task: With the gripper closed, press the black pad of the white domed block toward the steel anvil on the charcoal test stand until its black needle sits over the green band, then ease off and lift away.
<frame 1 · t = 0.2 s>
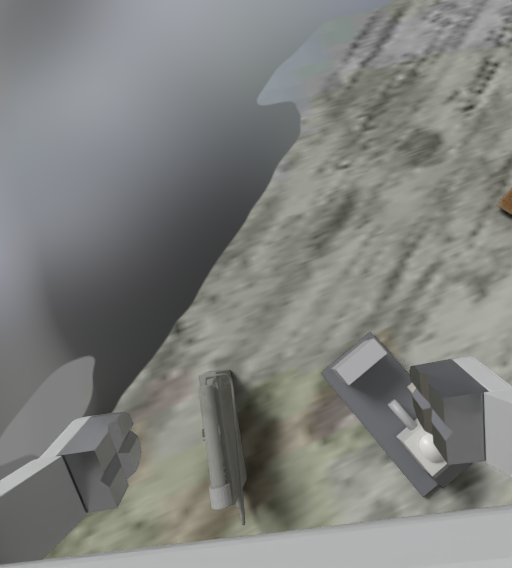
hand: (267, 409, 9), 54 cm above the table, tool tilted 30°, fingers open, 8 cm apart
white domed block: (426, 429, 51), point 5 cm above the table, slide at 0.0 cm
geiger counter: (235, 436, 60), on the table
test stand: (392, 408, 57), on the table
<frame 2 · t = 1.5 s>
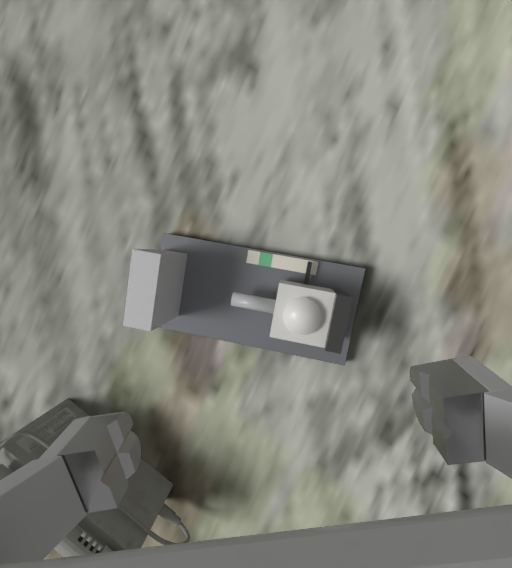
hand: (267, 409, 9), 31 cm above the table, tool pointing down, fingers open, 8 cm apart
white domed block: (288, 298, 35), point 5 cm above the table, slide at 0.0 cm
geiger counter: (131, 455, 45), on the table
test stand: (254, 296, 41), on the table
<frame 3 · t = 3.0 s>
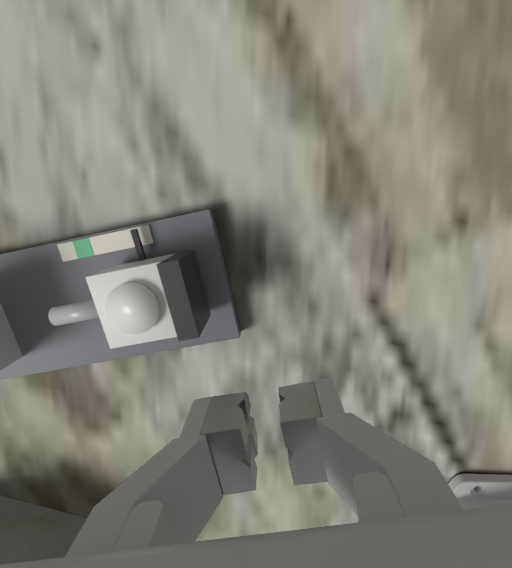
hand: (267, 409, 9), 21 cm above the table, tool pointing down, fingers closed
white domed block: (117, 289, 26), point 5 cm above the table, slide at 0.0 cm
geiger counter: (68, 516, 39), on the table
test stand: (103, 297, 31), on the table
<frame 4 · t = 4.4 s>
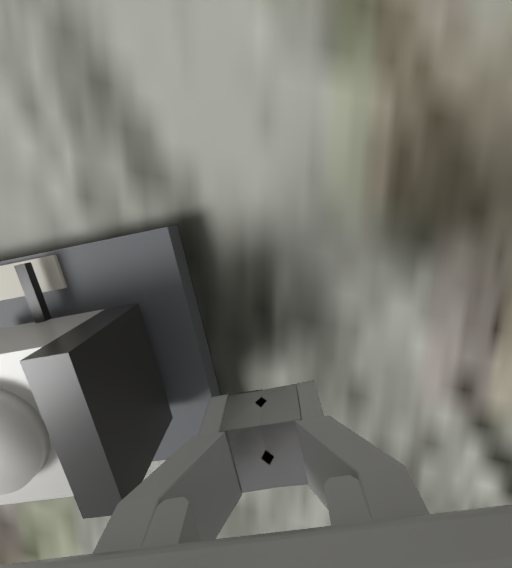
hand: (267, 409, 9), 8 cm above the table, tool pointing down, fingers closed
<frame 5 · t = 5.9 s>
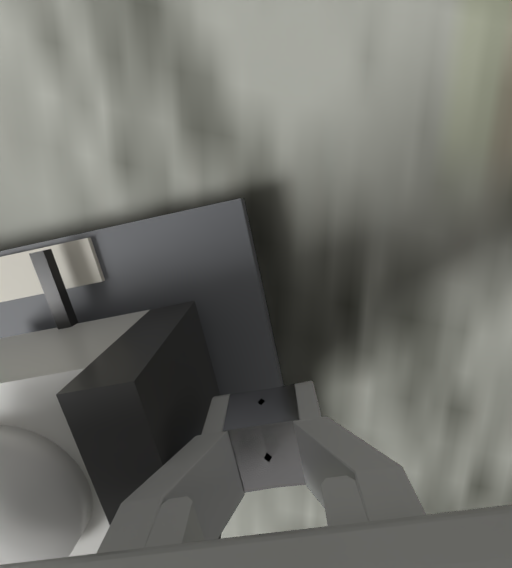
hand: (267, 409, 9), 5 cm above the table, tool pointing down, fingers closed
test stand: (9, 387, 15), on the table
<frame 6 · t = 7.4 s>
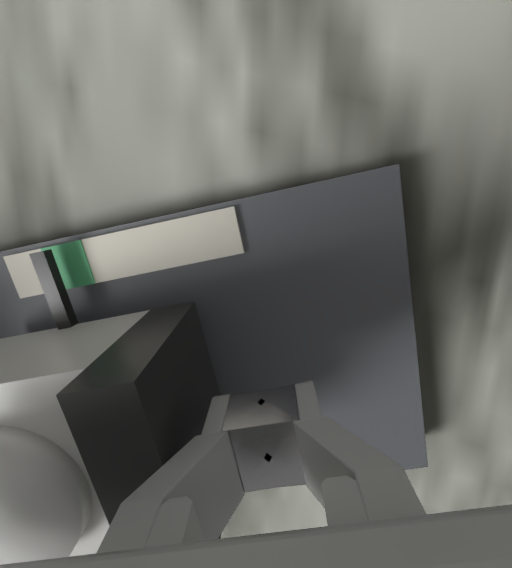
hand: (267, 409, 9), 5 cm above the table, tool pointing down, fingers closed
test stand: (115, 369, 14), on the table
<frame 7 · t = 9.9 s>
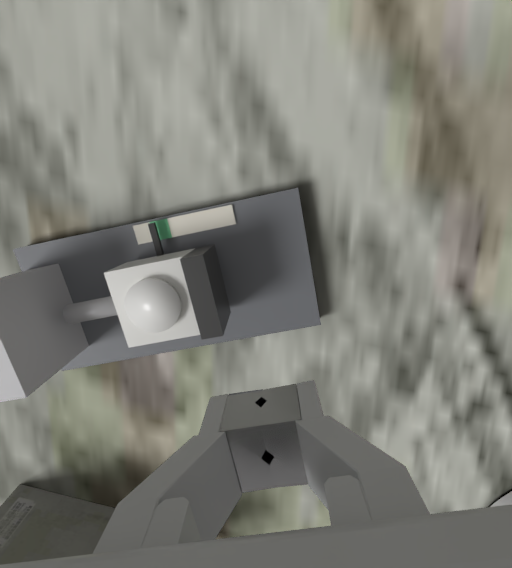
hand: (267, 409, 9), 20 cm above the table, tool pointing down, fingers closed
white domed block: (135, 285, 25), point 5 cm above the table, slide at 5.6 cm
geiger counter: (123, 514, 37), on the table
test stand: (174, 283, 29), on the table
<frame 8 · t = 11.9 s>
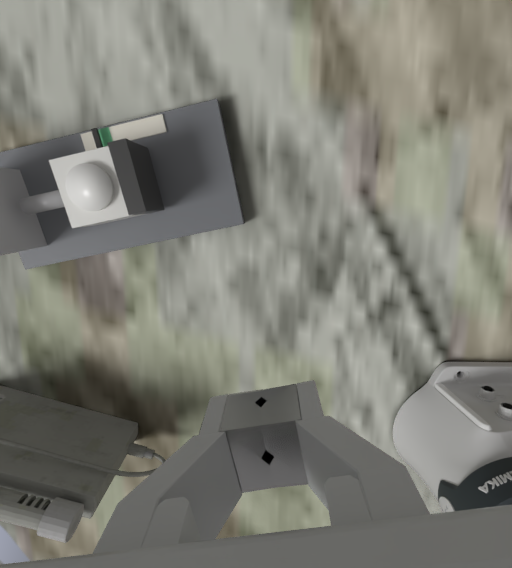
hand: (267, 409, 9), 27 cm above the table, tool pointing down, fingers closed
white domed block: (79, 177, 29), point 5 cm above the table, slide at 5.6 cm
geiger counter: (85, 413, 42), on the table
test stand: (120, 191, 34), on the table
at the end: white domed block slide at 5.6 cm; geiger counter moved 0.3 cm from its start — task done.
